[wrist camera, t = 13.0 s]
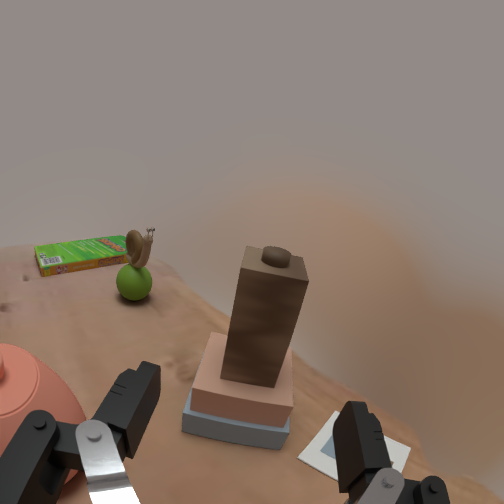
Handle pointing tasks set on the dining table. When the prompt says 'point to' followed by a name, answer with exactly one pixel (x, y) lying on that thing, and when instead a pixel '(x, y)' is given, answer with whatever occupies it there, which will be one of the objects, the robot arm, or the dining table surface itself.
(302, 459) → the page
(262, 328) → the walnut brick
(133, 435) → the robot arm
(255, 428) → the tower base
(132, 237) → the snail figurine
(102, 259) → the game box
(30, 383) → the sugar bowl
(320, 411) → the dining table surface
